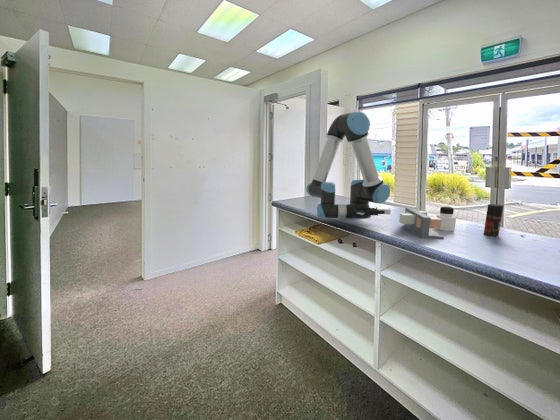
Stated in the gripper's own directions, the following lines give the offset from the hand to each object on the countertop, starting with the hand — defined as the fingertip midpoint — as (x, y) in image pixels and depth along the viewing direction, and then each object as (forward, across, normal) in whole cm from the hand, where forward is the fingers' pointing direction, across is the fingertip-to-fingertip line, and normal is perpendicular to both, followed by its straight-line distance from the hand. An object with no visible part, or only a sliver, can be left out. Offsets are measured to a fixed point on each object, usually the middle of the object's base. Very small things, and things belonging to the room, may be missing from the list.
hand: (390, 211), depth 153 cm
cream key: (+8, +8, -4) cm, 12 cm away
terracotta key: (+14, +16, -4) cm, 21 cm away
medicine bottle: (+28, +2, -9) cm, 30 cm away
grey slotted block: (+14, +8, -9) cm, 18 cm away
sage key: (+14, 0, -4) cm, 14 cm away
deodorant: (+46, +11, -9) cm, 48 cm away
